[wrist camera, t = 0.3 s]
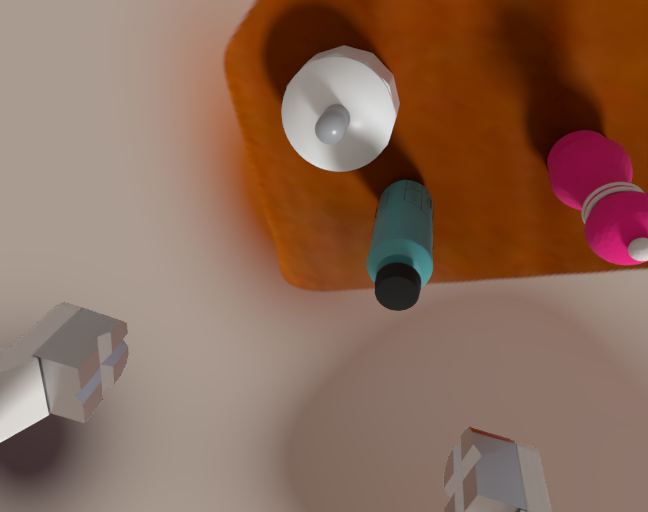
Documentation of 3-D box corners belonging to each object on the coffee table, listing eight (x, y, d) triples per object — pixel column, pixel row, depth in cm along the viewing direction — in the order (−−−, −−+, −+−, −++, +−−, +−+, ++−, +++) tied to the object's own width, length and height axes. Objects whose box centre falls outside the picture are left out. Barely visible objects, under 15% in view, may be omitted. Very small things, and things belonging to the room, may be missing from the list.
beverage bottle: (369, 190, 58) (343, 284, 41) (416, 161, 55) (408, 251, 38) (398, 229, 60) (384, 334, 43) (445, 204, 57) (449, 307, 40)
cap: (305, 34, 50) (280, 50, 41) (411, 63, 49) (406, 84, 41) (287, 137, 56) (262, 168, 48) (381, 164, 56) (371, 199, 47)
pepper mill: (632, 144, 49) (731, 240, 32) (583, 199, 53) (650, 309, 37) (572, 112, 49) (642, 194, 32) (527, 170, 53) (569, 269, 36)
